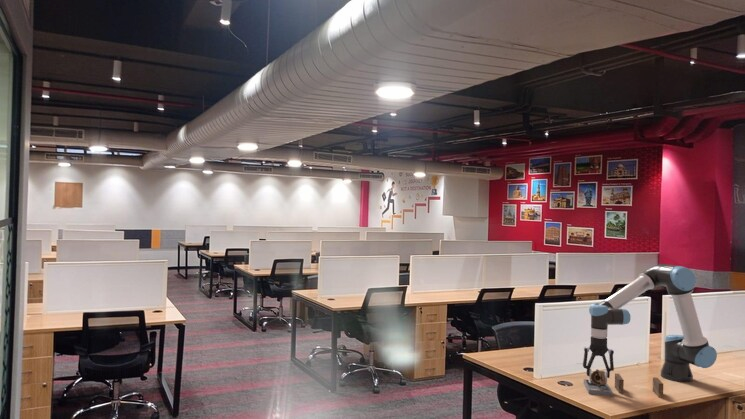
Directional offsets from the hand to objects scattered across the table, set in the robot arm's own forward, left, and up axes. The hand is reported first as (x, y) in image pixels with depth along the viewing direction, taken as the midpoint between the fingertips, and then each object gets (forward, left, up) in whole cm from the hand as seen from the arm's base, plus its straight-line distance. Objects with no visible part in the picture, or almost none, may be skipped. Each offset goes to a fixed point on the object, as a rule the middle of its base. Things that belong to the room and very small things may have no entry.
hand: (597, 383), depth 254 cm
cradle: (-19, -3, -3) cm, 19 cm away
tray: (0, 0, -3) cm, 3 cm away
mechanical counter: (0, 0, -3) cm, 3 cm away
